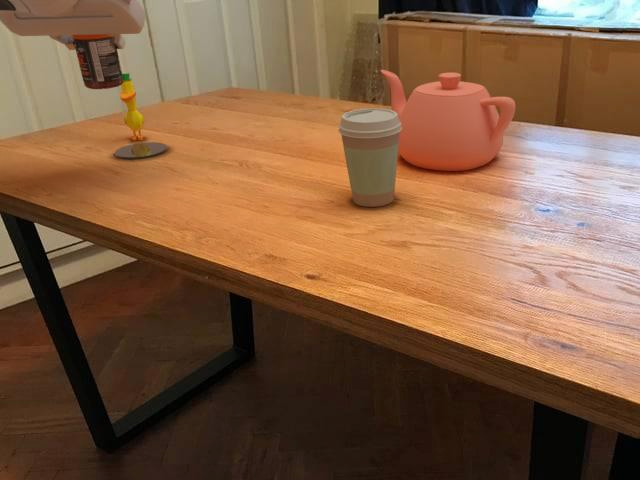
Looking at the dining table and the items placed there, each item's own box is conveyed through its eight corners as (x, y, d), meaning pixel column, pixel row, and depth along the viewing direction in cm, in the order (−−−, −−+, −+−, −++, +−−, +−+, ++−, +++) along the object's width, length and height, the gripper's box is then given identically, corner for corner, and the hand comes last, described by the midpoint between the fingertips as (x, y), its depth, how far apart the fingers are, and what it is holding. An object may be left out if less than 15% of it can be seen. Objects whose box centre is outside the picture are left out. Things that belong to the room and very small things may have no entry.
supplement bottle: (79, 86, 105) (60, 10, 100) (115, 80, 109) (99, 6, 103) (93, 92, 101) (74, 12, 96) (130, 85, 105) (114, 8, 99)
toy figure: (144, 143, 123) (130, 77, 117) (124, 145, 122) (109, 78, 117) (149, 133, 129) (136, 70, 123) (131, 135, 128) (116, 71, 122)
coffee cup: (395, 186, 98) (393, 105, 92) (410, 207, 91) (408, 119, 85) (339, 192, 97) (333, 110, 91) (348, 214, 89) (343, 125, 84)
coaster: (104, 155, 117) (103, 153, 117) (142, 142, 124) (142, 140, 124) (140, 162, 113) (139, 159, 113) (178, 147, 120) (177, 145, 120)
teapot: (354, 157, 111) (349, 75, 105) (412, 133, 122) (411, 58, 116) (484, 184, 97) (487, 92, 91) (535, 155, 109) (542, 70, 102)
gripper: (123, -40, 89) (164, 27, 103) (-19, -36, 91) (40, 29, 104) (116, -1, 88) (159, 62, 101) (-28, 2, 90) (32, 64, 103)
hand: (97, 45), depth 103 cm, fingers closed on supplement bottle, 6 cm apart
